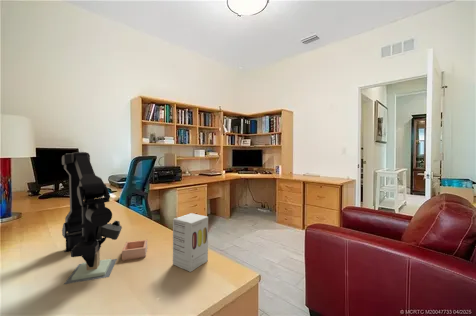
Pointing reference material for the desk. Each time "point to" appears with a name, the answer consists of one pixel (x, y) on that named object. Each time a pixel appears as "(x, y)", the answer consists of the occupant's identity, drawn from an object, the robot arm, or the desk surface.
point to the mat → (91, 277)
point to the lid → (92, 268)
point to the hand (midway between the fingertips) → (93, 264)
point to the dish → (134, 250)
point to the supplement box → (190, 241)
